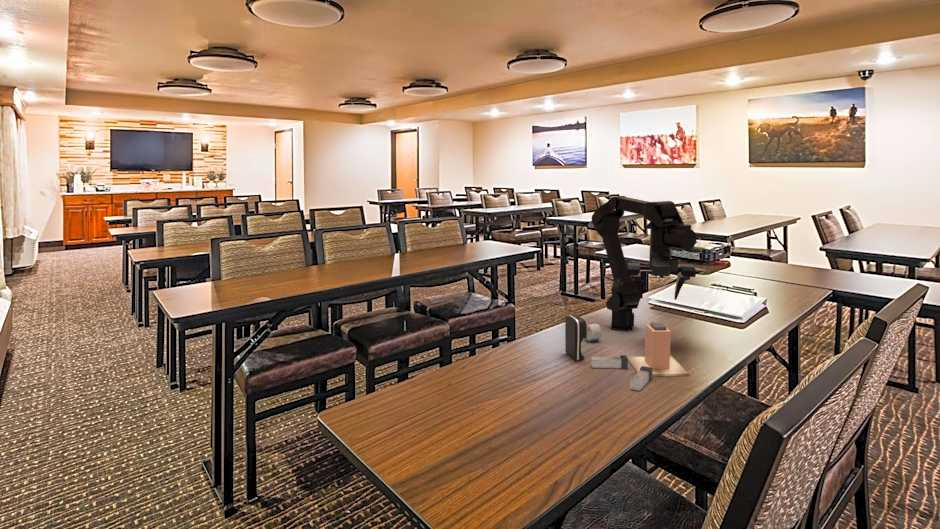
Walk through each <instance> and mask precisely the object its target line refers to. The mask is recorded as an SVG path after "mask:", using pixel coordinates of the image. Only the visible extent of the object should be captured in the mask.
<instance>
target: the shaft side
mask: <svg viewBox="0 0 940 529" xmlns="http://www.w3.org/2000/svg"><path fill="white" fill-rule="evenodd" d="M627 357H628V356H627V355H626V354H625V355H623V354H622V355H619V356H590V366H591V368H592V369H622V370H623V369H628V366H629V364H628V363H629V362H628V358H627Z"/></svg>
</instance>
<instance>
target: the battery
mask: <svg viewBox="0 0 940 529" xmlns="http://www.w3.org/2000/svg"><path fill="white" fill-rule="evenodd" d="M564 324H565V326H564V327H565V328H564V329H565V330H564V331H565V332H564V334H565V338H564V339H565V343H564V344H565V347H564V349H565V351H564V352H565V354H566V355H568V356H569V357H570V358H571V359H573V360H574V361H582V360H584V359H585V356H584V355H583V353H582V342H583V341H584V339H586V338H587V325H588V324H587V321H586V320H585V319H584V318H582V317H581V316H579V315H578V314H572V315H571V314H569V315H566V316H565V322H564Z"/></svg>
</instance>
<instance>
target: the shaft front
mask: <svg viewBox="0 0 940 529" xmlns="http://www.w3.org/2000/svg"><path fill="white" fill-rule="evenodd" d="M652 374H653V368H650V367H645V366H642V367H641V368H640V371H639V372H638V373H637V372H636V374H635V375H634V376H633V377H632V378H630V380H629V381H630V383H629V384H630V385H629V389H630V390H634V391H638V392H640V391H641V390H642V389H643V388H644V387H645V385H646V384H648V382H649V381H652V379H653V376H652Z"/></svg>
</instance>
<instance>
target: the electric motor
mask: <svg viewBox="0 0 940 529" xmlns="http://www.w3.org/2000/svg"><path fill="white" fill-rule="evenodd" d="M586 325H587V338H585V340H586V341H587V342H588V341H589V343H593V341H595V342H599V340H600V339H601V337H602V328H601V326H600V325H599V324H598V323H592V324H586Z"/></svg>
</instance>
